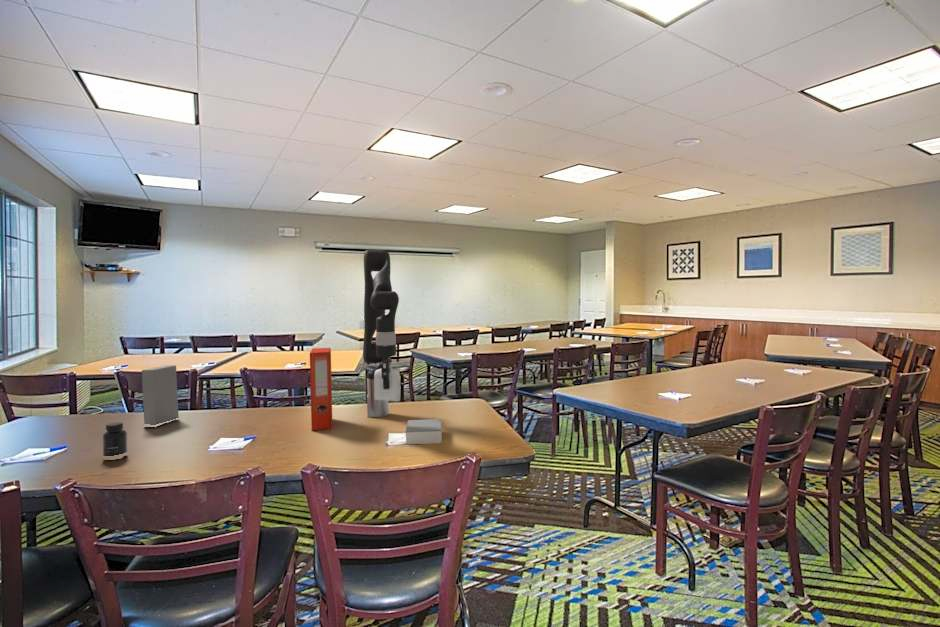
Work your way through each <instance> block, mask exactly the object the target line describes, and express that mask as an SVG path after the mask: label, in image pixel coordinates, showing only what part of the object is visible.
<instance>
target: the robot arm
mask: <svg viewBox="0 0 940 627" xmlns="http://www.w3.org/2000/svg"><path fill="white" fill-rule="evenodd" d="M372 272H376V274H375V276H374V277H373V275H372V274H373V273H372ZM363 274H364V276H363V278H364V279H363V280H364V300H363V317H364V318H363V320H364V321H363V323H364V326H363V327H364V331H363V342H362V344H363V346H362V358H363V362H364V363H365V364H378V365H377V366H376V367H374V368H373V369H371V370H368V371H367V373H366V381H367V385H366V386H367V395H366V408H367V409H366V412H367V413H366V414H367V417H369V418H383V417H387V416H389V414H390V412H389V410H390V409H389V404H390V403H389V401H384V400H375V397H374V373H375V371H376V370H378V369H381V372H382V379H383V389H389V378H390V377H389V373H390V372H391V369H393V360H392V359H393V358H391V357H395V356H397V343H396V342H397V338H396V337H397V336H396V329H395V328H396V324H395V320H396V314H397V310H398V306H399V302H400V296H399V294H398V293H397V292H396V291H393V287H392V282H391V256H390V253H389V251H387V250H384V249H383V250H382V249H366V250H365V251H364V252H363ZM386 311H389V312H388V313H386ZM375 332H376V333H375ZM375 334H376V335H375ZM374 335H375V342H372V340H373V337H374ZM385 373H387V375H384V374H385Z"/></svg>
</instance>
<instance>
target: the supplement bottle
mask: <svg viewBox="0 0 940 627" xmlns="http://www.w3.org/2000/svg"><path fill="white" fill-rule="evenodd" d="M123 425H124V423H123V422H110V423H108V424H105V431H106V432H104V433H103V435H102V457H103V456H114V455H119V454H123V453H125V452H127V453H128V433H127V431H126V430H125V429H124V426H123Z"/></svg>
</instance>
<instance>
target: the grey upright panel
mask: <svg viewBox="0 0 940 627" xmlns="http://www.w3.org/2000/svg"><path fill="white" fill-rule="evenodd" d="M141 381H142V382H141V383H142V384H141V385H142V401H143V402H142V403H143V404H142V406H143V422H144V423H143V425H144V424H150V425H156V424H159V423H163V422H166V421H170V420H173V419H176V418H179V419H180V416H179V401H178V379H177V365H169V364H168V365H162V366H156V367H151V368H147V369H146V368H145V369H142V370H141Z"/></svg>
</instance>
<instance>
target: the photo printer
mask: <svg viewBox="0 0 940 627" xmlns="http://www.w3.org/2000/svg"><path fill="white" fill-rule="evenodd" d="M384 375H387V373H385V374H384ZM389 377H390V378H389V389H383V379H382V372H381V369H378V370H376V371H375V373H374V397H375V400H384V401H388V402H400V400H401V375H400V371H399V370H398V369H395V368H392V369H391V372H390V373H389Z"/></svg>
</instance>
